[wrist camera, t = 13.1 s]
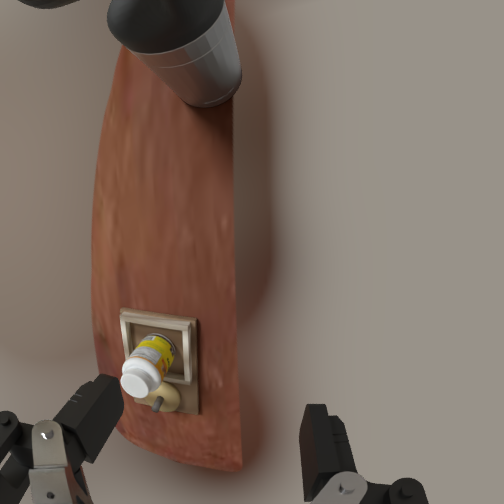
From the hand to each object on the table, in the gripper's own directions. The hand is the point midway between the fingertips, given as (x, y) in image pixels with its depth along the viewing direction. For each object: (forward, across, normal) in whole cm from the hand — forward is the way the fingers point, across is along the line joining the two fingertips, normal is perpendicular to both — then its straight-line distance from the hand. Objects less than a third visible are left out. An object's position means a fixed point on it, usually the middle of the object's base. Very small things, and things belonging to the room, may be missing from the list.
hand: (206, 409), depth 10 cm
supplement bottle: (+27, +13, +15) cm, 34 cm away
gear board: (+28, +13, +19) cm, 36 cm away
